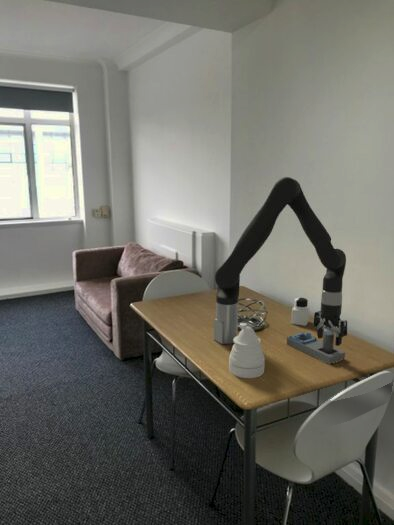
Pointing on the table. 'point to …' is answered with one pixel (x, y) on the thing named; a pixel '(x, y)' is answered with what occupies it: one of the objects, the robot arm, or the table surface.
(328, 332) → the plug
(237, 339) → the honey pot
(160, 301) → the table surface
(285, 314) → the table surface
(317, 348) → the gray socket base
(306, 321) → the medicine bottle
